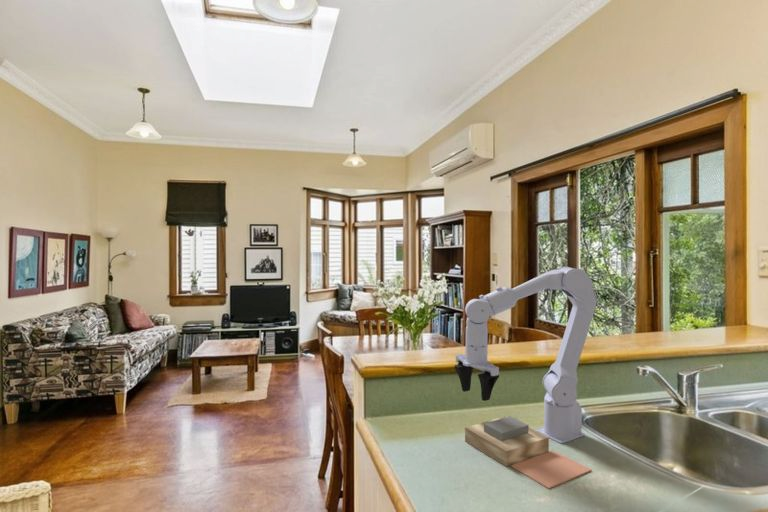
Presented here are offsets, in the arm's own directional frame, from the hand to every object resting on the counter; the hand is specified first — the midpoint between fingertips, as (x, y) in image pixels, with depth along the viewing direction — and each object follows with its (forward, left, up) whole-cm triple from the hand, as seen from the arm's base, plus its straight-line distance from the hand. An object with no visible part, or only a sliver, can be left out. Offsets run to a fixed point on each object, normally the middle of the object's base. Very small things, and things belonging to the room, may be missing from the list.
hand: (475, 395), depth 114 cm
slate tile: (0, +11, -6) cm, 12 cm away
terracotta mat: (-1, +23, -9) cm, 25 cm away
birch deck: (0, +11, -9) cm, 14 cm away
